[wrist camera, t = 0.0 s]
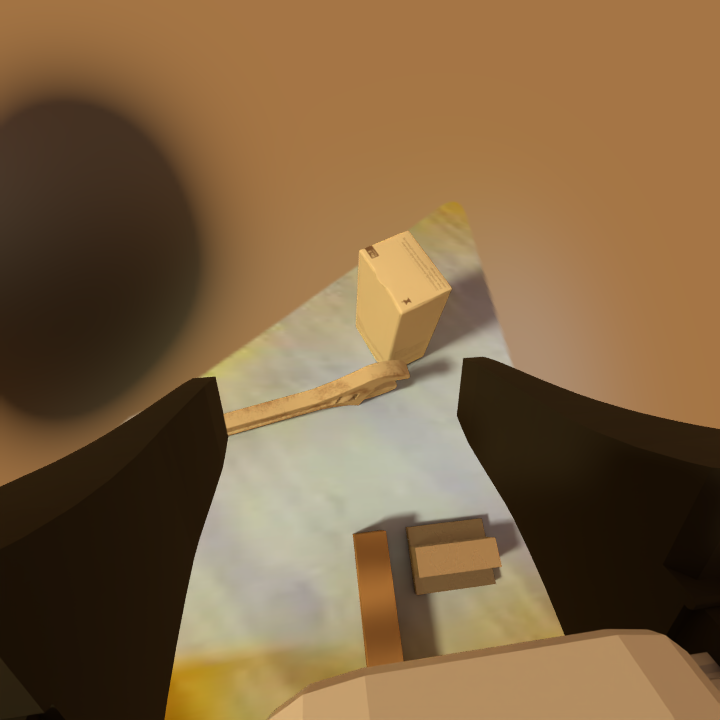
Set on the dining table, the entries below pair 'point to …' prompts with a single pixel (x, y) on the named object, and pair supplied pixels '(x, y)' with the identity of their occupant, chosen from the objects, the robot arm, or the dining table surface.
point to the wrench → (321, 396)
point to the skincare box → (398, 298)
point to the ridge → (451, 556)
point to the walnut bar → (377, 599)
